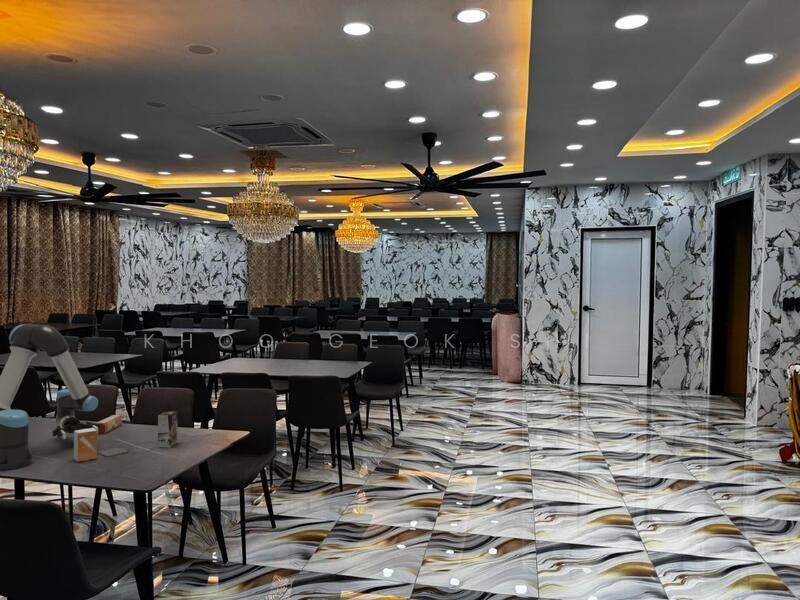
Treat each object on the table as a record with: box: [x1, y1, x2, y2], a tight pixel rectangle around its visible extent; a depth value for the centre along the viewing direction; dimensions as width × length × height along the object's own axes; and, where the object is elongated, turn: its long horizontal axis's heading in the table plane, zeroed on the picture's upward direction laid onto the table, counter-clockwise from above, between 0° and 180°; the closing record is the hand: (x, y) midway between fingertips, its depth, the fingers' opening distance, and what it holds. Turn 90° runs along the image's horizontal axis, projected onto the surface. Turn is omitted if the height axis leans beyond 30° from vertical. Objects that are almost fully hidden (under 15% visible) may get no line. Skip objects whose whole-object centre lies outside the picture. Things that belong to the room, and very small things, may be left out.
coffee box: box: [157, 410, 178, 449], centre depth 280 cm, size 9×6×16 cm
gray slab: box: [97, 446, 130, 458], centre depth 266 cm, size 10×10×1 cm
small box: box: [73, 428, 98, 463], centre depth 256 cm, size 8×6×13 cm
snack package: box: [96, 414, 123, 435], centre depth 308 cm, size 21×7×7 cm, turn 3°
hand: (81, 433), depth 264 cm, fingers open, 13 cm apart
